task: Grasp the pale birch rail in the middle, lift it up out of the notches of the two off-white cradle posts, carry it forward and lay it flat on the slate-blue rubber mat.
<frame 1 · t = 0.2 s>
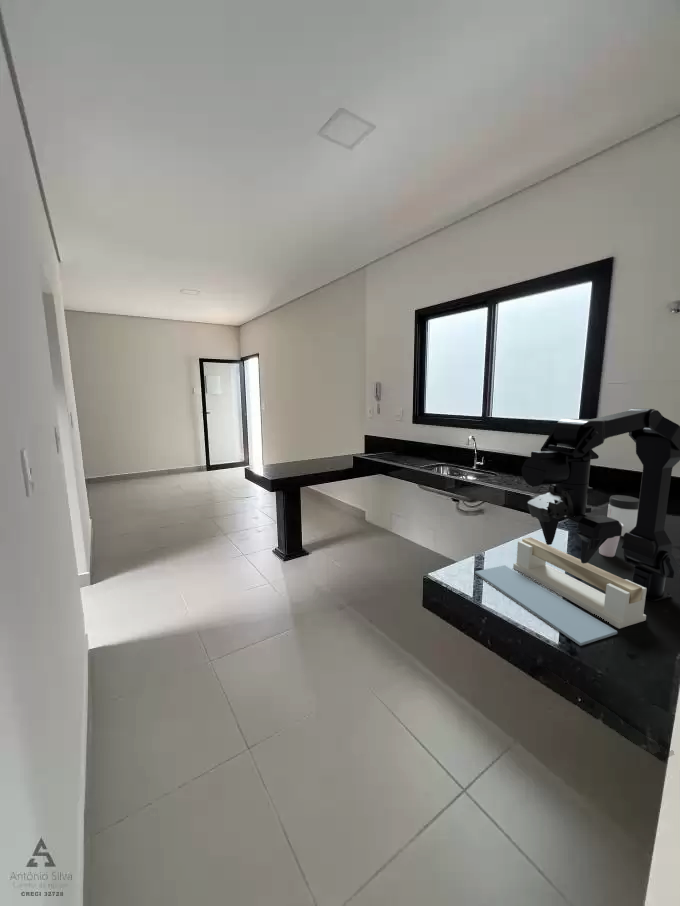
hand: (565, 553, 77), 14 cm above the worktop, fingers open, 9 cm apart
mat: (535, 599, 85), on the worktop
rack: (570, 590, 89), on the worktop
smoothie: (606, 554, 108), on the worktop
rail: (572, 571, 88), point 5 cm above the worktop, touching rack
jar: (620, 533, 124), on the worktop
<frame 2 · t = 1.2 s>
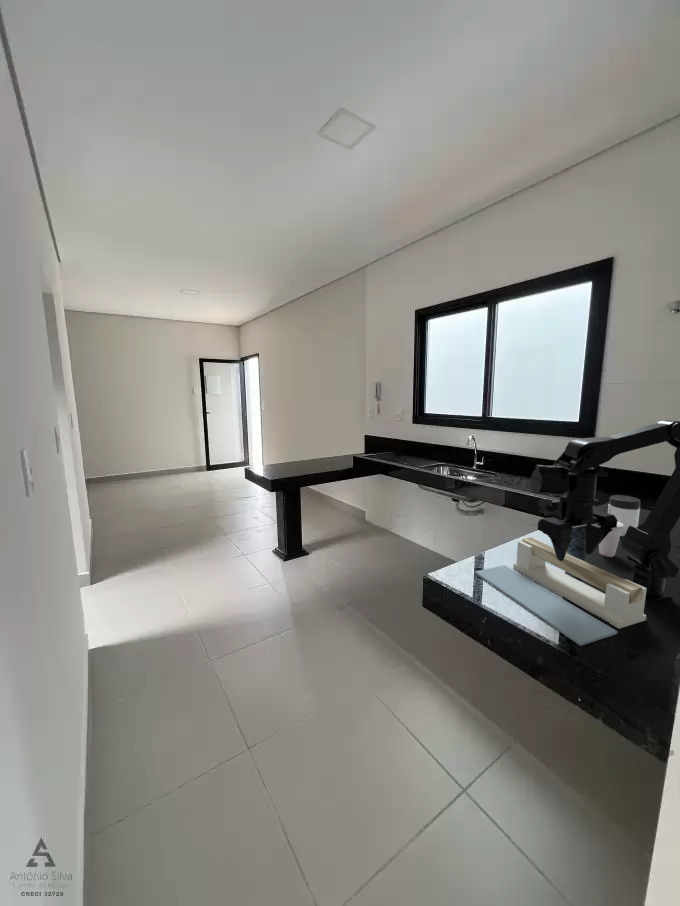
hand: (574, 557, 87), 9 cm above the worktop, fingers open, 9 cm apart
nothing on the worktop moved.
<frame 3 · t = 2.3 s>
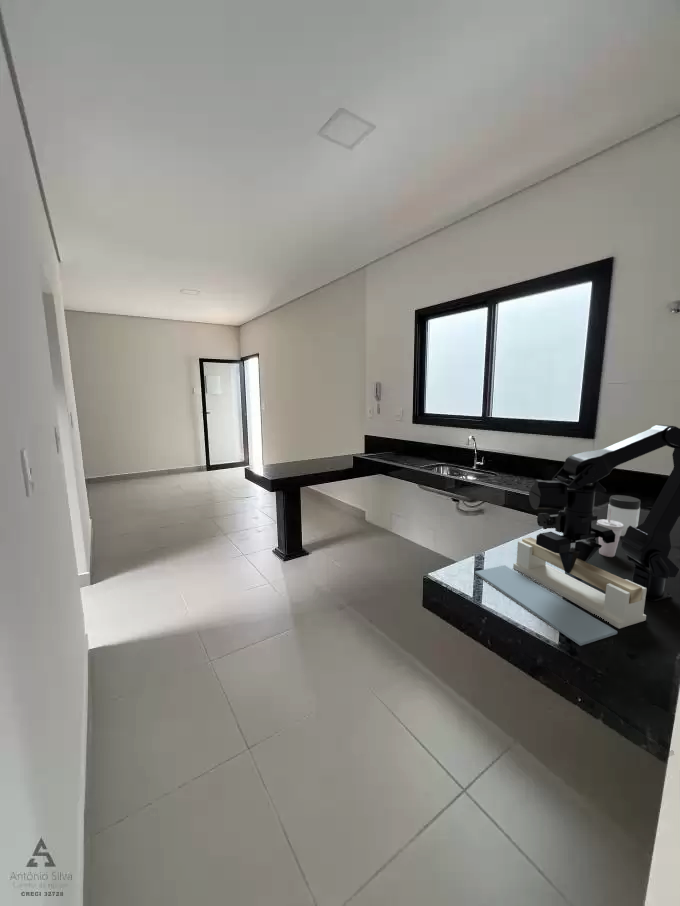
hand: (572, 571, 88), 5 cm above the worktop, fingers closed on rail, 3 cm apart
rail: (572, 571, 88), point 5 cm above the worktop, touching gripper, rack
everything else where it was.
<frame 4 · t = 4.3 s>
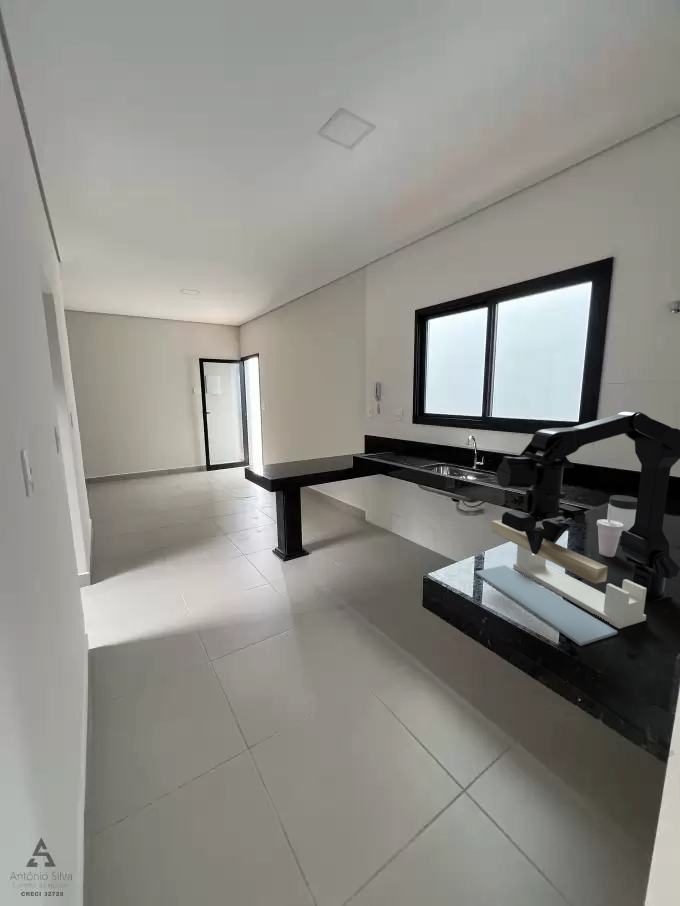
hand: (540, 552, 83), 11 cm above the worktop, fingers closed on rail, 3 cm apart
rail: (540, 552, 83), point 11 cm above the worktop, touching gripper
everything else where it was.
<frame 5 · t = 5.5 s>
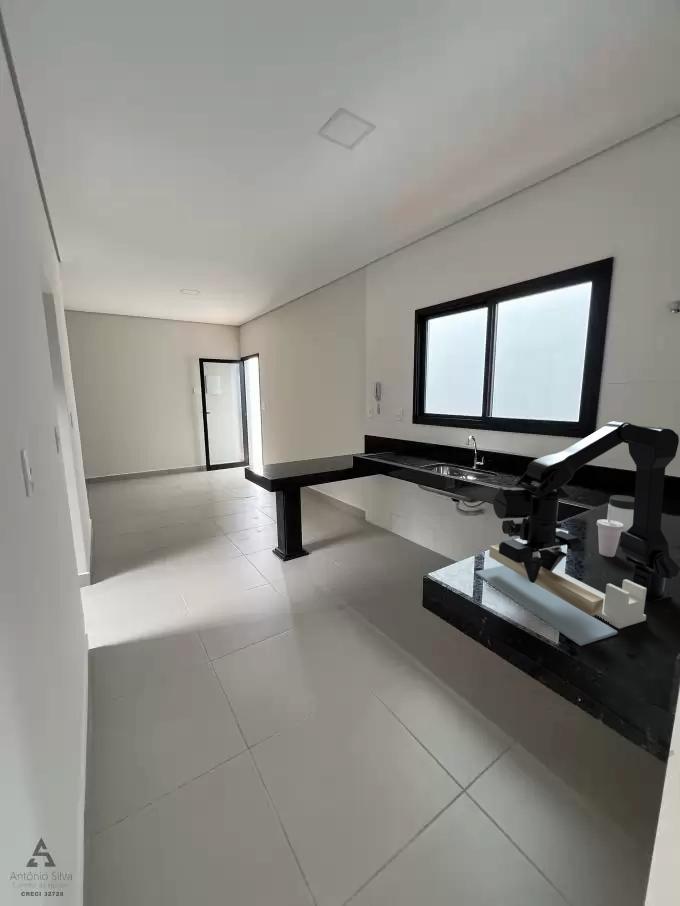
hand: (537, 580, 84), 5 cm above the worktop, fingers closed on rail, 3 cm apart
rail: (537, 580, 84), point 5 cm above the worktop, touching gripper
everything else where it was.
when the fingers open (2 cm above the worktop, at t = 6.6 s): rail drops 2 cm, resting on mat.
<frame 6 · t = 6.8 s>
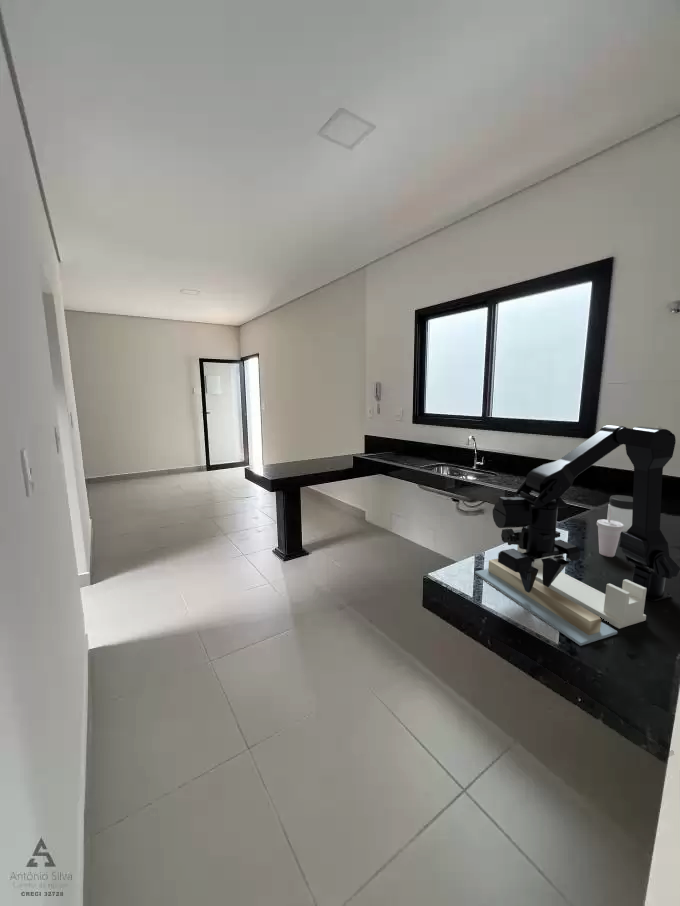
hand: (536, 589, 85), 2 cm above the worktop, fingers open, 5 cm apart
rail: (535, 596, 85), point 1 cm above the worktop, touching mat
everything else where it was.
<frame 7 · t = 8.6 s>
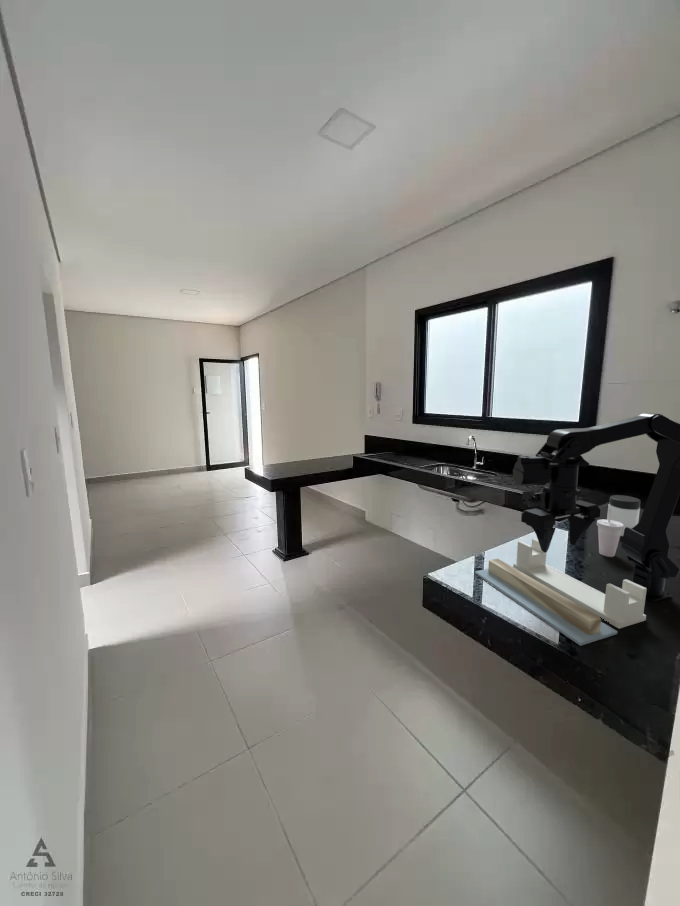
hand: (558, 548, 87), 11 cm above the worktop, fingers open, 9 cm apart
nothing on the worktop moved.
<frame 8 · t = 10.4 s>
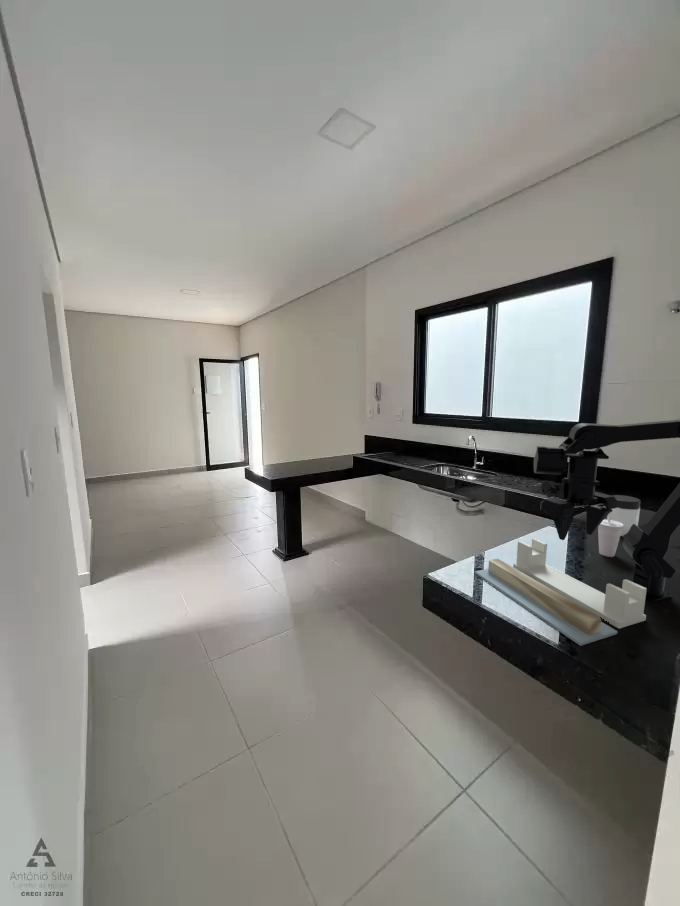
hand: (575, 536, 91), 12 cm above the worktop, fingers open, 9 cm apart
nothing on the worktop moved.
at the end: rail inside the target area on the mat (0.1 cm from its centre), point 0.6 cm above the mat's base; rail tilted 0°; the gripper is holding nothing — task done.
